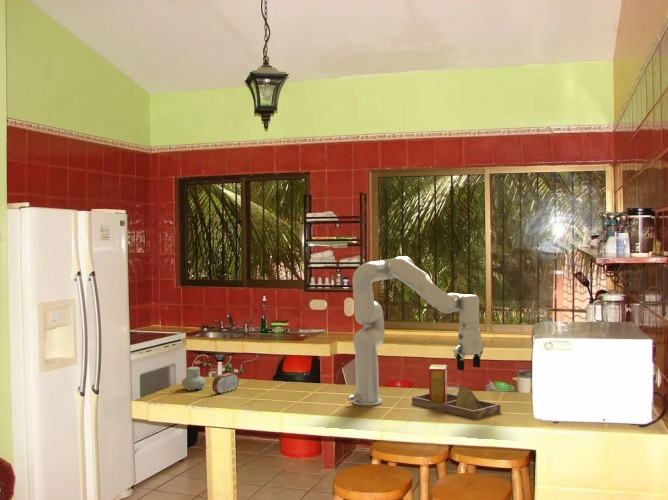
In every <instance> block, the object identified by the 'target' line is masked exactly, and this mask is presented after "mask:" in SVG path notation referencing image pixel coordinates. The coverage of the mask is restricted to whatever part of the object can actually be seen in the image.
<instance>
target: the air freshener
mask: <svg viewBox="0 0 668 500" xmlns="http://www.w3.org/2000/svg"><path fill="white" fill-rule="evenodd" d="M200 370H201V369H200V367H199V366H190V367H187V368H186V374H187V375H186V377H185V378H184V379H182V381H181V386H182V387H183V388H184V389H185V390H187V389H190V390H189V391H196V390H195V389H198V390H201V389H202V388H204V387H205V386H206V380H205V378H204V377H202V376H201V371H200ZM193 389H194V390H193Z"/></svg>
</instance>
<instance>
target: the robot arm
mask: <svg viewBox="0 0 668 500" xmlns="http://www.w3.org/2000/svg"><path fill="white" fill-rule="evenodd" d="M390 279H398V280H399V281H400V282H402V283H403V284H405V286H408V287H409V288H410V289H412V290H414V291H415V292H416V293H417V294H418V295H419V296H420V297H421V298H422V299H423V300H424V301H425V302H426V303H428V304H429V305H430V306H432V307H433V308H435V309H436V310H438V311H439V312H441V313H443V314H451V313H454V312H459V330H458V334H457V345H456V347H455V348H453V354H454V357H455V360H456V370H459V371H464V370H465V360H464V359H465V357H466V356H472V355H473V356H472V367H474V368H481V357H482V354H483V351H484V348H485V346H484V344H482V333H481V329H480V297H479V296H478V295H477V294H463V293H456V292H449V293H447V292H446V291H444V290H442V289H441V288H439V287H438V286H437V285H436V284H435V283H434V282H433V281H432V279H431V277H430V275H429V274H428V273H427V272H425V271H424V270H422V269H421V268H419V267H418V266H416V265H415V263H414V261H413V260H412V259H411V258H410V257H409V256H405V255H403V256H395V257H394V258H389V259H387V258H386V259H381V260H374V261H368V262H363V264H361V265H360V266H358V267H357V268H356V270H355V271H354V273H353V276H352V292H353V295H352V296H353V311H354V318H355V320H356V322H357V323H358V324H359V325H363V328H361V329H359V330H357V332H356V333H355V334H354V337H353V347H354V354H355V392H353V393H354V394H353V395H348V396H347V401H349V402H351V401H352V403H353V404H354V405H357V406H363V407H364V406H367V407H368V406H377V405H381V404H382V403H383V399H382V398H381V397H380V396H379V395H380V393H379V391H380V390H379V357H378V356H379V355H378V351H377V350H378V349H377V348H378V347H380V346H381V345H382V344H383V343H384V341H385V338H386V337H385V333H386V332H385V321H384V320H385V319H384V311H383V308H382V306H381V304H380V303H378V302H377V301H375V299H374V298H375V297H374V296H375V295H374V290H373V286H372V285H373V284H372V283H374V282H379V281H384V280H385V281H386V280H390Z"/></svg>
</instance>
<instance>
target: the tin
mask: <svg viewBox="0 0 668 500" xmlns="http://www.w3.org/2000/svg"><path fill="white" fill-rule="evenodd" d="M239 383H240V382H239V376H238V375H237V374H236V373H234V372H227V373H223V374H217V376H215V377H214V379H213V381H212V384H211V386H212V387H211V388H212V391H213V392H214V393H215V394H219V393H222V392H226V391H229V390H233V389H235V390H237V388H238V386H239Z"/></svg>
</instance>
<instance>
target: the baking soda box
mask: <svg viewBox="0 0 668 500" xmlns="http://www.w3.org/2000/svg"><path fill="white" fill-rule="evenodd" d="M428 389H429V391H428V392H429V400H431V401H435V402H439V403H445V402H448V401H447V393H448V365H447V364H430V366H429V368H428Z"/></svg>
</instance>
